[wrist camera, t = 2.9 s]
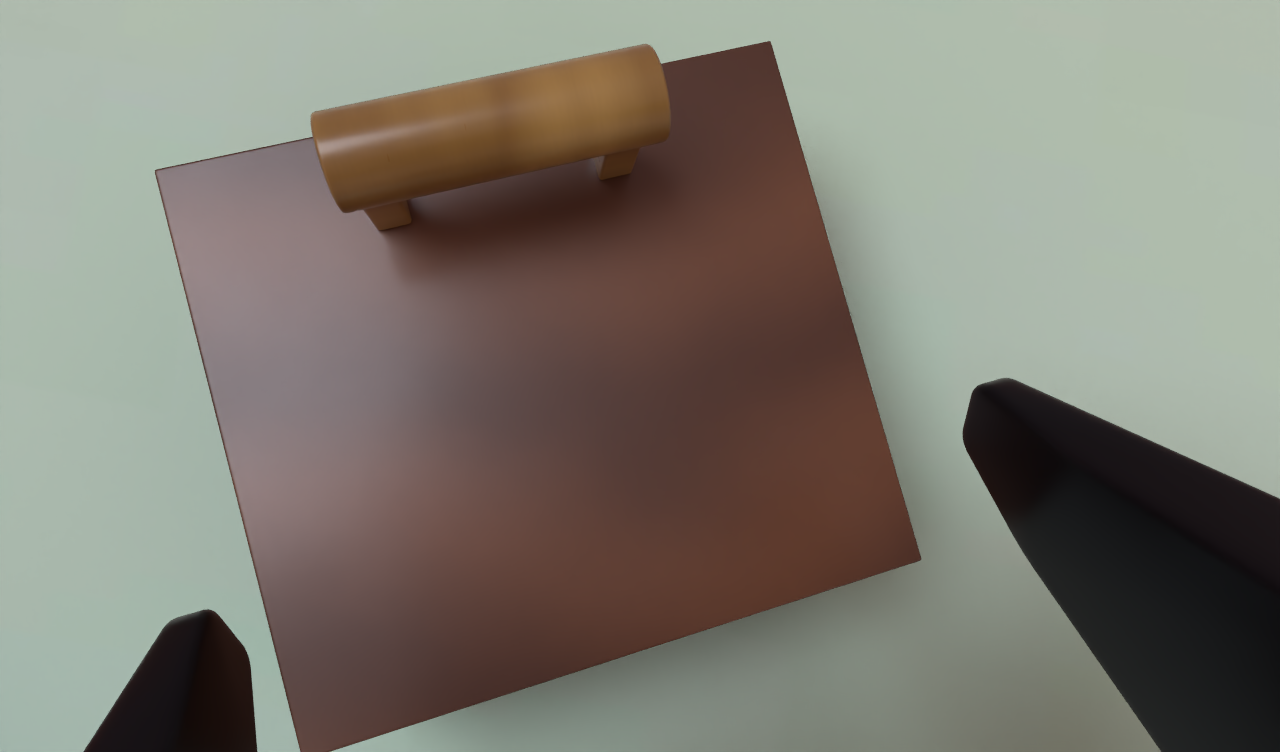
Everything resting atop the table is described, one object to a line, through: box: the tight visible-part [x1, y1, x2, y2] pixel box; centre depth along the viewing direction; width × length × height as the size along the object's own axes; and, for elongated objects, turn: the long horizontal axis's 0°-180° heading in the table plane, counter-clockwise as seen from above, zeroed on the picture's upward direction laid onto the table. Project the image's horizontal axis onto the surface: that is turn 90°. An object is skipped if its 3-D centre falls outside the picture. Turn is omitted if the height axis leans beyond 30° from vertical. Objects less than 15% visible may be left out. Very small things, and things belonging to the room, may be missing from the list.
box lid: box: [155, 41, 921, 752], centre depth 15 cm, size 11×13×4 cm
